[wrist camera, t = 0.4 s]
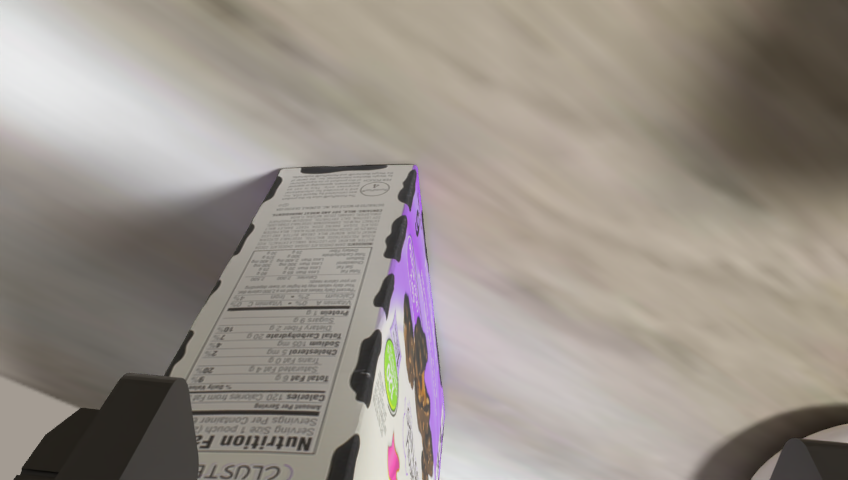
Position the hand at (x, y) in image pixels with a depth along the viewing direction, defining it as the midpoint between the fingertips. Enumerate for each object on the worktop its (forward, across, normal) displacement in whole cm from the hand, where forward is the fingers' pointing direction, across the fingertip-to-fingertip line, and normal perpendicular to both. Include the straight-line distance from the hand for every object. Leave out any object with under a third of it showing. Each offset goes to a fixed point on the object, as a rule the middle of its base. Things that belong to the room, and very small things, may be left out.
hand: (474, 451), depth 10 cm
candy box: (+19, +4, +11) cm, 22 cm away
